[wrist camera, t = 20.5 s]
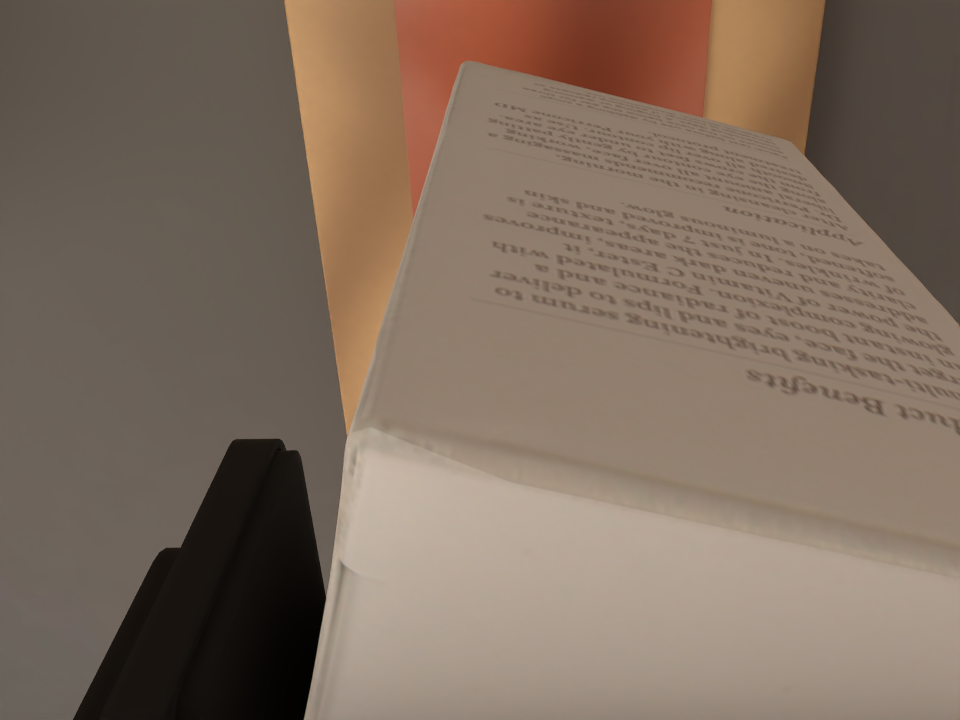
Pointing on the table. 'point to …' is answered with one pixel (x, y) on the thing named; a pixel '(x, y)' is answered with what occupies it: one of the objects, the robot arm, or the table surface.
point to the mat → (518, 47)
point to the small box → (644, 437)
